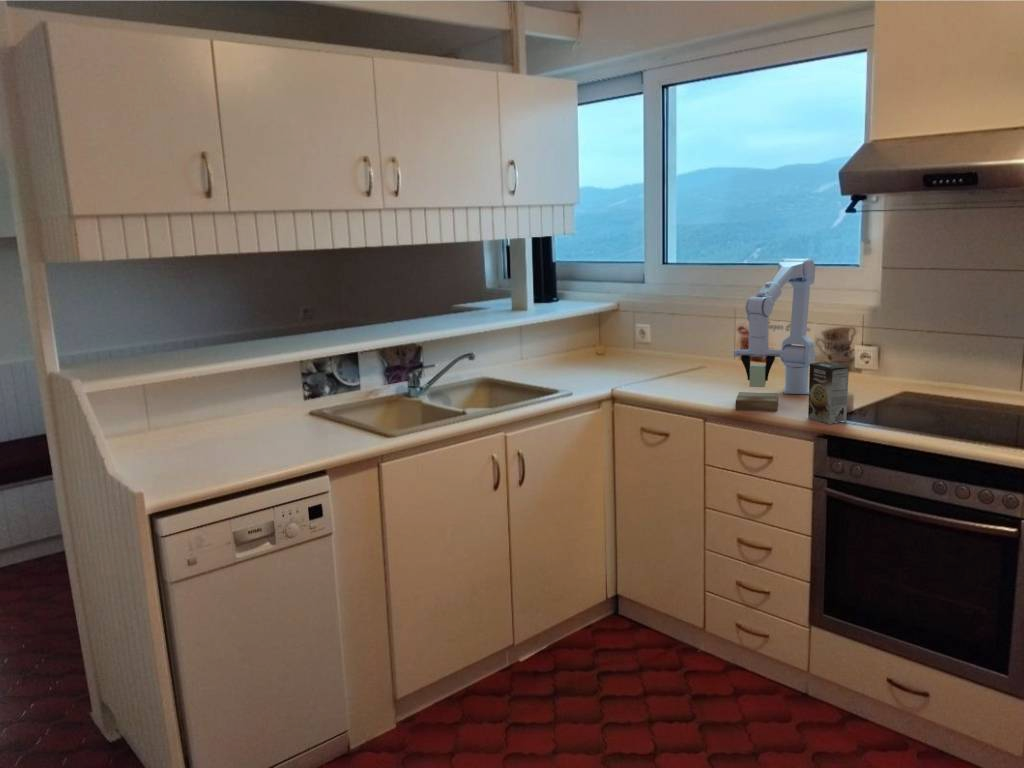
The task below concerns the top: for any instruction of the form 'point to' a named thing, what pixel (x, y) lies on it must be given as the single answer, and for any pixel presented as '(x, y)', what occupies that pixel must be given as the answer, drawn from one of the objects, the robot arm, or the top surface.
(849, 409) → the tan round piece
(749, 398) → the walnut base
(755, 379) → the sage block
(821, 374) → the coffee box
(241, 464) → the top surface
